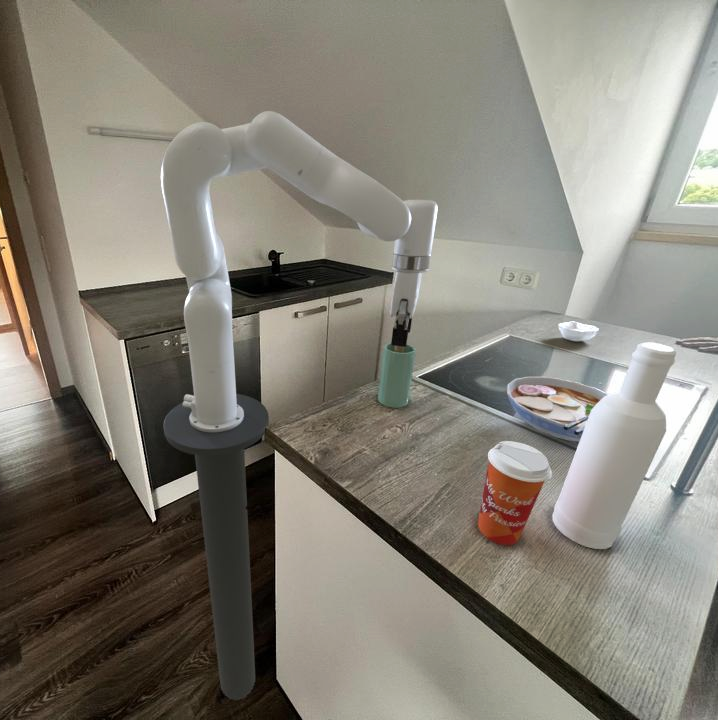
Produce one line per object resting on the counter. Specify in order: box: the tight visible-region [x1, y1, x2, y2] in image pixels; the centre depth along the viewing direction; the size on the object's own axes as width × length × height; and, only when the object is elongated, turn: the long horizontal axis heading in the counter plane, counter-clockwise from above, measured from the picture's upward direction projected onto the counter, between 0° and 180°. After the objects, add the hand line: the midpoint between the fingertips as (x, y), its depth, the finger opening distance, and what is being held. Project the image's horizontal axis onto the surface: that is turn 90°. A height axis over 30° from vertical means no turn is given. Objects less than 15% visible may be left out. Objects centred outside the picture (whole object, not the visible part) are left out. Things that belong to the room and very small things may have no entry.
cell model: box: [557, 320, 599, 342], centre depth 134 cm, size 10×12×7 cm
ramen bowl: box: [506, 376, 610, 443], centre depth 82 cm, size 25×23×8 cm
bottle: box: [552, 341, 677, 550], centre depth 53 cm, size 8×8×30 cm
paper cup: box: [477, 440, 553, 546], centre depth 56 cm, size 8×8×14 cm
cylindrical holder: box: [377, 342, 417, 409], centre depth 93 cm, size 7×7×14 cm
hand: (400, 338), depth 89 cm, fingers open, 9 cm apart
